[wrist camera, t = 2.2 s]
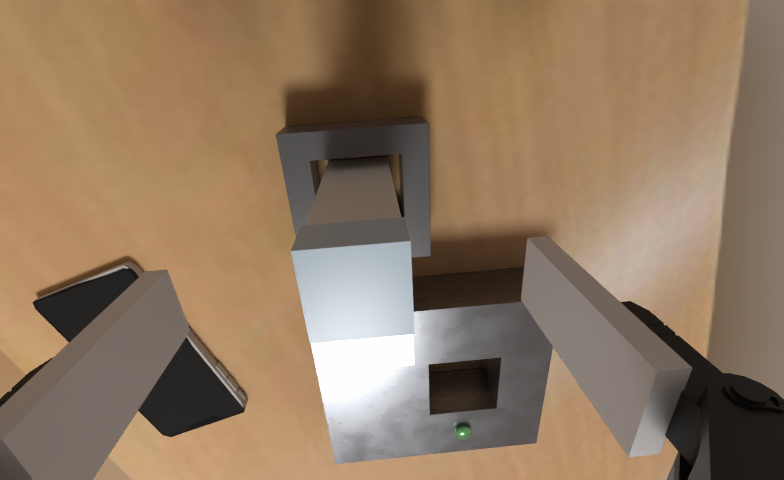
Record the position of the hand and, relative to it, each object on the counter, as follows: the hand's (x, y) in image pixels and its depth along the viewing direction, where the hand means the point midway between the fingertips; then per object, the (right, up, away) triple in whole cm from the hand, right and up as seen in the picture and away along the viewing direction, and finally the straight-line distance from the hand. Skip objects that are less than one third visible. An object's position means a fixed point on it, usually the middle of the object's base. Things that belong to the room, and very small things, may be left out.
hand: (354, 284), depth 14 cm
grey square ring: (-1, +5, +10) cm, 11 cm away
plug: (-1, +5, +10) cm, 11 cm away
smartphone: (-17, -7, +15) cm, 24 cm away
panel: (+4, -7, +16) cm, 18 cm away
